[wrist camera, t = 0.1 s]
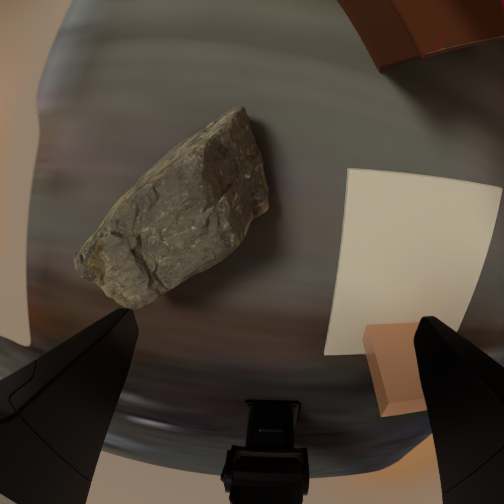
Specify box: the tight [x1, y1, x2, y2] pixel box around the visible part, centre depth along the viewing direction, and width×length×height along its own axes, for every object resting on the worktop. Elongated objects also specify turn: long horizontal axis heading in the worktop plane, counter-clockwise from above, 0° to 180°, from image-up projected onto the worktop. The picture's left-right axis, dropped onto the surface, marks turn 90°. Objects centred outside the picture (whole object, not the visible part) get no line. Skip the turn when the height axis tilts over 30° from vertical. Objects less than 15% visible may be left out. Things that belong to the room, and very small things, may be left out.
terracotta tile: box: [362, 322, 427, 417], centre depth 22 cm, size 2×8×9 cm, turn 91°
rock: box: [74, 106, 270, 309], centre depth 20 cm, size 17×7×10 cm
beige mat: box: [324, 168, 502, 355], centre depth 23 cm, size 18×15×1 cm
